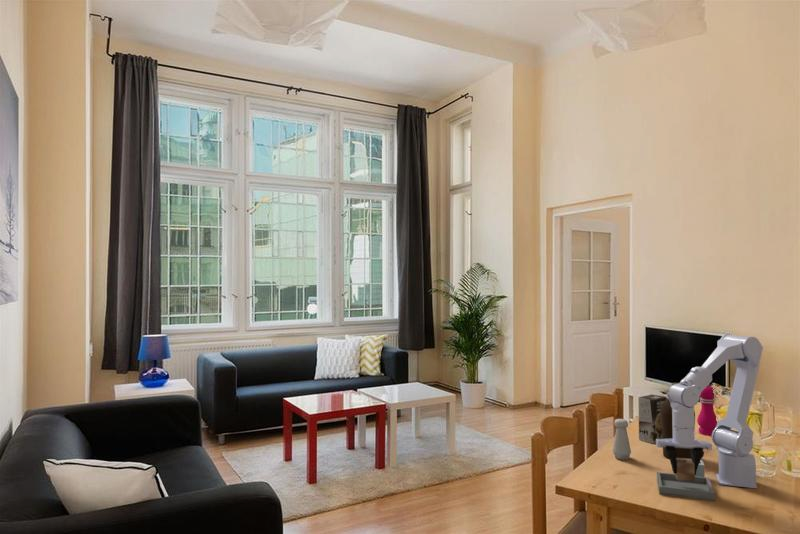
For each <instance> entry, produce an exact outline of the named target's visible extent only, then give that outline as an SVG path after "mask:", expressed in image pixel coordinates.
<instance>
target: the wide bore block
mask: <svg viewBox="0 0 800 534" xmlns="http://www.w3.org/2000/svg"><path fill="white" fill-rule="evenodd" d="M695 476H698V477H705V476H706V475H705V463H704V461H703V460H702V459H701V460H700V462H699V465H698V467H697V471H696V475H695Z"/></svg>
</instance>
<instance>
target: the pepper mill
mask: <svg viewBox="0 0 800 534" xmlns="http://www.w3.org/2000/svg"><path fill="white" fill-rule="evenodd" d="M713 388H714V387H713V386H711V385H710V383H709V384H708V385H707V386H706V387H705V389H704V390H703V391H702V392H701V395H700V396H699V402H700V403H701V408H700V411H699V414H698V416H697V420H696V422H697V424H698V426H699V427H698V433H699V434H700V435H703V436H709V437H710V436H711V437H712V433H713V431H714V429H715V428H716V426H717V421H716V417H717V415H716V413H715V410H714V404H715V403H714V401H715V400H714V399H715V397H714V393H713V390H714V389H715V388H714V389H713ZM712 389H713V390H712Z"/></svg>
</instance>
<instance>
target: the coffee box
mask: <svg viewBox="0 0 800 534" xmlns="http://www.w3.org/2000/svg"><path fill="white" fill-rule="evenodd" d="M667 398H668V397H667V396H664V395H658V394H648V395H642V396H638V440H639V441H643V442H646V443H650V444H656V439H662V426H661V414H660V409H661V406H662V403H663V402H664V401H665V400H666V399H667Z"/></svg>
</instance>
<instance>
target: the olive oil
mask: <svg viewBox="0 0 800 534" xmlns="http://www.w3.org/2000/svg"><path fill="white" fill-rule="evenodd" d="M679 383H680V382H672V383H671V386H673V385H674V384H679ZM660 414H661V426H662V439H672V438H673V426H672V408H671V403H670V401H669V399H668V397H667V399H666V400H665V401H664V402H663V403H662V406H661V409H660ZM695 425H696V412H695V410H694V433H696V432H695V428H696V427H695ZM675 449H676V452H677V457H676V458H687V459H691V450H690V448H675ZM662 456H663V457H665V458H667V459H668V460H670V459H669V456H668V454H667V452H666V450H665V448H664V447H662Z"/></svg>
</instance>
